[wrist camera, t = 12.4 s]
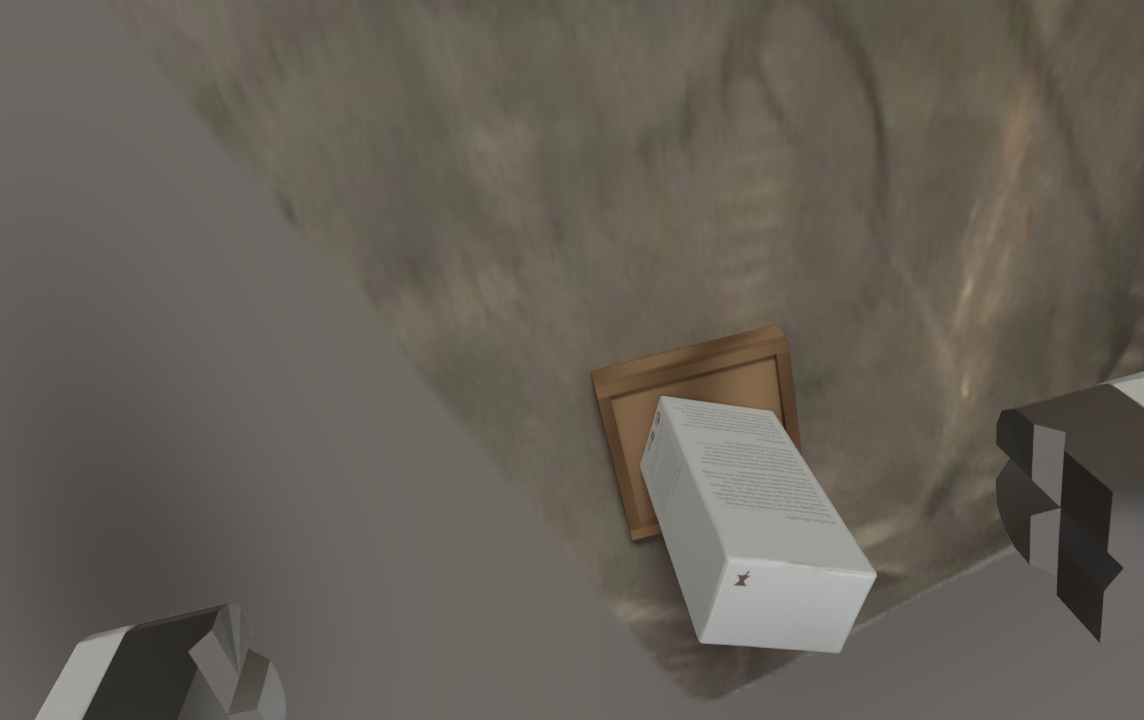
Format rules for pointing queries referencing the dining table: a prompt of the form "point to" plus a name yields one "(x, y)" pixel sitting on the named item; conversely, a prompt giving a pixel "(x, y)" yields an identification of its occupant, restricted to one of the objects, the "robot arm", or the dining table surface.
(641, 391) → the walnut tray
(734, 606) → the skincare box
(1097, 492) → the robot arm
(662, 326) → the dining table surface
